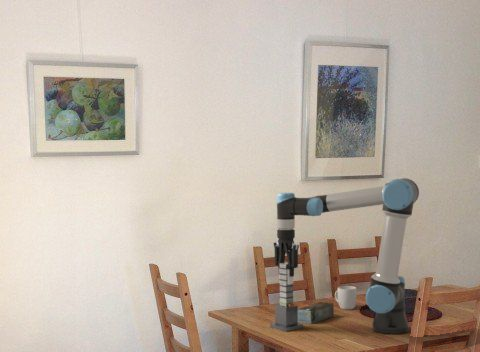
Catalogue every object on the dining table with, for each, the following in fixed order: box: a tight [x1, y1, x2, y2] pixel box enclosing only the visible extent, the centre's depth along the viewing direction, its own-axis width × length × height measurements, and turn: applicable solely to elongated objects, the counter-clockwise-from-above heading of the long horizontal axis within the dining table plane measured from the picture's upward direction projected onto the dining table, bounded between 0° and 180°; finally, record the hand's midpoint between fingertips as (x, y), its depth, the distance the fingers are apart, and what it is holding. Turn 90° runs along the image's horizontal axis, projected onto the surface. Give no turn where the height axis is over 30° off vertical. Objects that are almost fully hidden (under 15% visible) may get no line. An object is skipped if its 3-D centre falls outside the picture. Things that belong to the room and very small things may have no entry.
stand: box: [269, 302, 304, 332], centre depth 308 cm, size 10×10×11 cm
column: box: [278, 261, 294, 307], centre depth 307 cm, size 4×4×20 cm
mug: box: [334, 285, 358, 310], centre depth 346 cm, size 13×9×10 cm
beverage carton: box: [298, 301, 335, 325], centre depth 323 cm, size 8×19×7 cm, turn 141°
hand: (286, 283), depth 307 cm, fingers closed on column, 4 cm apart
